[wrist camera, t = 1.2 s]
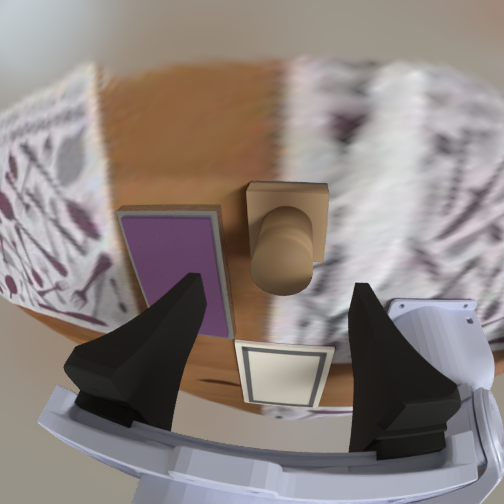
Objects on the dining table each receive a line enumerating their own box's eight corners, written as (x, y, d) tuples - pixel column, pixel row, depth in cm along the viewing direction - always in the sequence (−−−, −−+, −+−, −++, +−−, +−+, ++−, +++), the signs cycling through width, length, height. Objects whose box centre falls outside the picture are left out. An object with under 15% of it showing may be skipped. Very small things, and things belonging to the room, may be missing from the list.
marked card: (334, 346, 27) (334, 350, 26) (317, 405, 35) (317, 409, 34) (235, 339, 28) (234, 343, 28) (245, 399, 36) (244, 402, 36)
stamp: (327, 183, 18) (335, 232, 13) (322, 247, 21) (324, 309, 16) (251, 180, 19) (228, 227, 14) (255, 243, 22) (237, 303, 17)
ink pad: (220, 204, 20) (215, 213, 19) (236, 331, 28) (233, 341, 27) (122, 205, 22) (114, 213, 21) (159, 321, 29) (154, 329, 28)
